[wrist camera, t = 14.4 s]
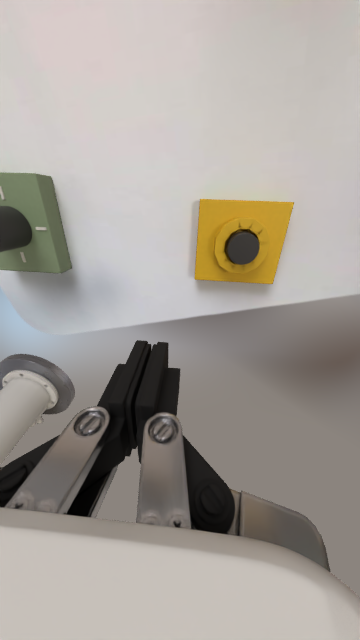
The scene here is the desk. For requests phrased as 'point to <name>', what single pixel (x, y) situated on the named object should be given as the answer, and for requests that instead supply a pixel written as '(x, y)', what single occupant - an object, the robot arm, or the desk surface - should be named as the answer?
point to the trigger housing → (231, 218)
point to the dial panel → (35, 224)
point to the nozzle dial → (13, 229)
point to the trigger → (242, 248)
